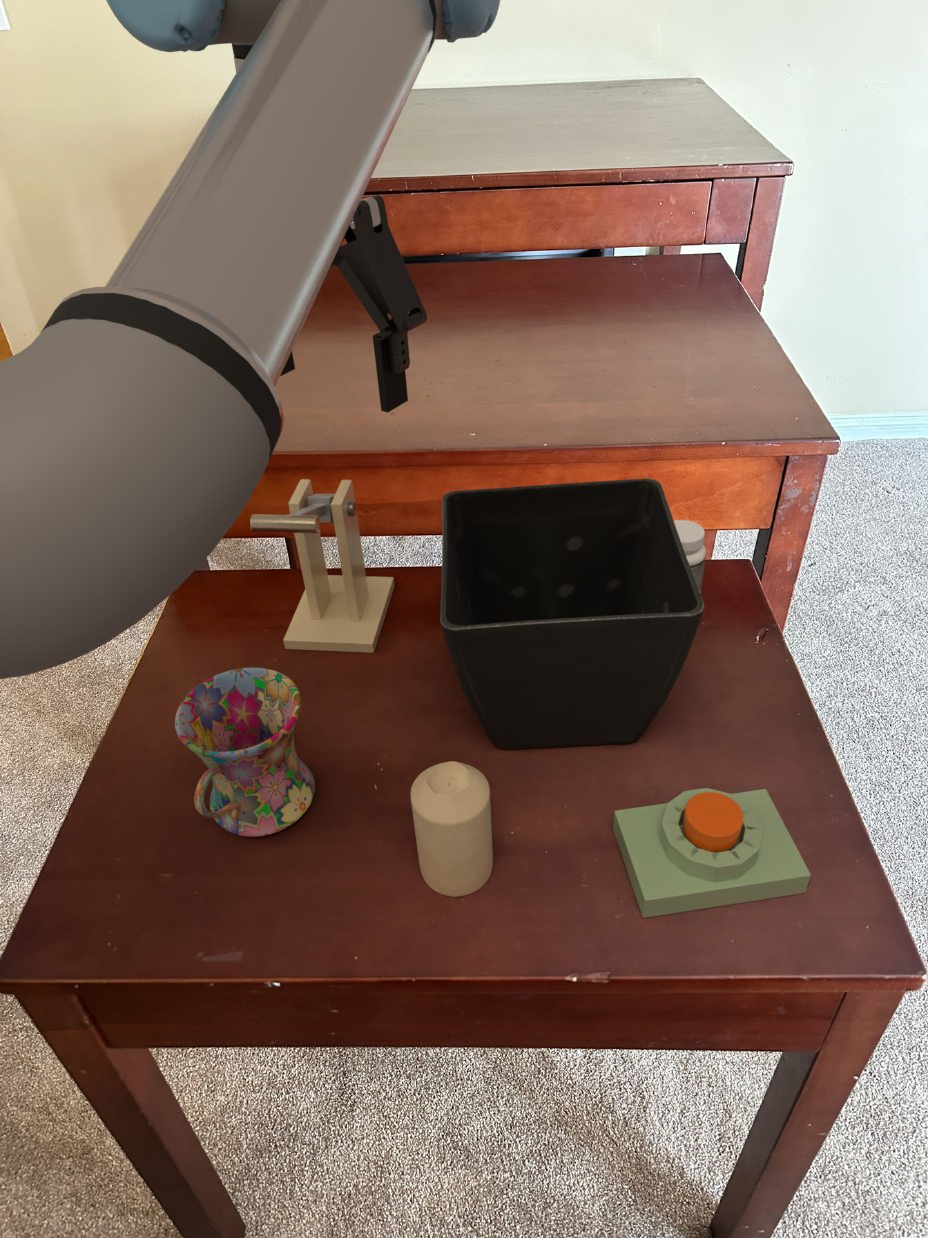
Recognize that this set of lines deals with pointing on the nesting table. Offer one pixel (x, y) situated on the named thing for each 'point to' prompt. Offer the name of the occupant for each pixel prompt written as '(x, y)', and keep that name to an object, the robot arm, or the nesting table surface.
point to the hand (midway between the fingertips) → (336, 389)
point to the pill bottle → (693, 547)
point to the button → (712, 821)
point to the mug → (247, 750)
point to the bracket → (336, 585)
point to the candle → (453, 828)
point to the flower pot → (566, 609)
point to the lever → (297, 517)
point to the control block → (707, 857)
